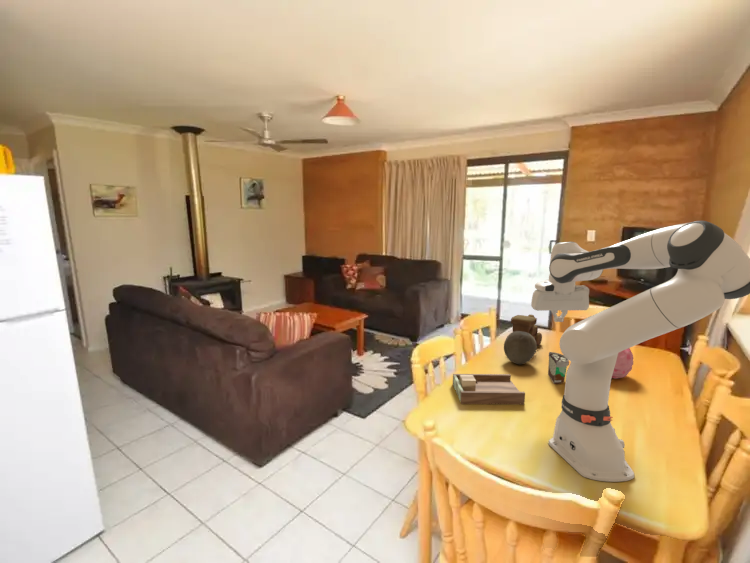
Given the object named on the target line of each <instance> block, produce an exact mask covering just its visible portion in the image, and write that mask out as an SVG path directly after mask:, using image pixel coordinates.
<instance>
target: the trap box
mask: <svg viewBox="0 0 750 563" xmlns="http://www.w3.org/2000/svg"><path fill="white" fill-rule="evenodd" d="M460 375H473V376H474V378H475V380H476V389H475V390H463V389H462V387H461V384H460ZM511 376H512V375H511V374H509V373H508V374H507V373H506V374H505V373H499V374H498V373H494V374H493V373H453V374H452V386H453V389H454V390H456V391H455V393H456V396H457V395H458V396H457V398H458V400H459V403H460V402H461V403H460V404H461V405H525V402H526V401H525V400H526V392H525V391H520V390H519V388H518V387H517V386H516V385H515V384H514V382H513V381H512V380H511Z"/></svg>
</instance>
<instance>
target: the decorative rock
mask: <svg viewBox="0 0 750 563" xmlns="http://www.w3.org/2000/svg"><path fill="white" fill-rule="evenodd" d="M630 348H631V347H630ZM630 348H628V349H626V350H623V351H621V352H619V353H618V356H617V360H616V364H615V367H614V371H613V374H612V378H611V379H621V378H625V377H626V376H628V375H629V372H630V371H632V370H633V366H634V354H633V352H632V350H631V349H630Z"/></svg>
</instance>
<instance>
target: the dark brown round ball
mask: <svg viewBox="0 0 750 563" xmlns="http://www.w3.org/2000/svg"><path fill="white" fill-rule="evenodd" d="M537 348H538V345H537V343H536V341H535V339H534V338H533V336H532V335H531V334H529V333H527V332H522V331H515V332H513V331H511V332H510V333H509V334H508V335H507V336H506V338H505V340H504V344H503V351H504V355H505V356H506V358H507V359H508V360H509V361H510V362H512V363H514V364H516V365H524V364H526V363H528V362H530V361H531V360H532V359H533V357H534V356H535V354H536V352H537Z"/></svg>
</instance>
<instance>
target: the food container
mask: <svg viewBox="0 0 750 563" xmlns="http://www.w3.org/2000/svg"><path fill="white" fill-rule="evenodd" d="M569 361H570V360H568V359H567V358H566V357H565V356H564V355H563V353H558V352H554V351H549V352H548V368H547V369H548V370H547V375H548V377H549V378H550V380H551V382H552V383H553V384H554V385H561V384H564V383H565V380H566V373H567V369H568V368H567V367H569V366H570V362H569Z"/></svg>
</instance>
